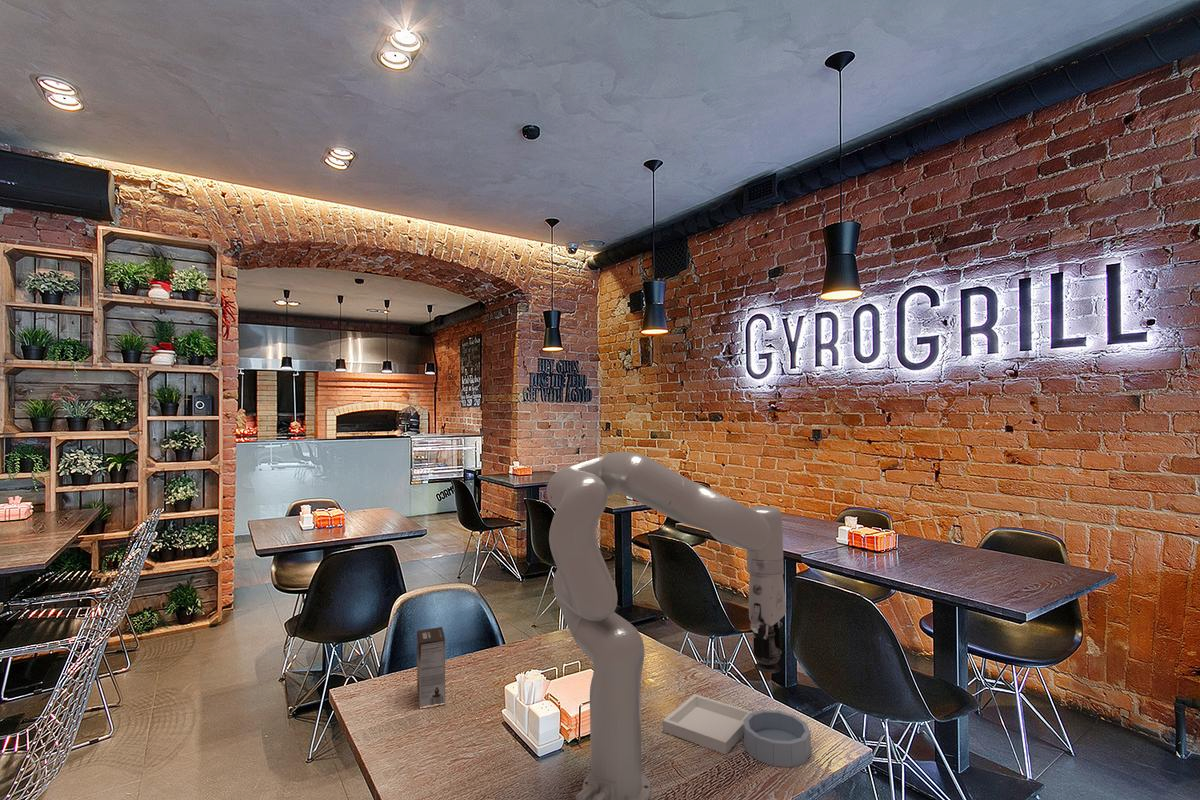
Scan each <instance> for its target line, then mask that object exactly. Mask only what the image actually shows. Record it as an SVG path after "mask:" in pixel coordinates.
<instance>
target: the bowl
mask: <svg viewBox="0 0 1200 800" xmlns="http://www.w3.org/2000/svg"><path fill="white" fill-rule="evenodd" d="M752 712H753V713H750V714H749V715H748V716H747V717H746V718H745V719H744V720H743V723H744V736H743V743H744V749H745V751H746V753H748V754H749V755H750V756H752V758H754V759H755V760H756V761H758V762H760V763H761V762H762V763H764V764H767V765H769V766H772V767H780V768H781V767H786V768H794V767H797V766H800V765H803V763H804V764H806V763H807V762H806V761H808V760H809V759H810V757H811V755H812V744H811V743H812V742H811V736H812V735H811V733H812V732H811V730H810V728H809V725H808V723H807V722H806V721H804V720H803V719H801V718H799V717H798V716H797V715H795V714H792V713H788V712H785V711H781V710H772V709H761V710H758V711H752ZM808 758H809V759H808Z"/></svg>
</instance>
